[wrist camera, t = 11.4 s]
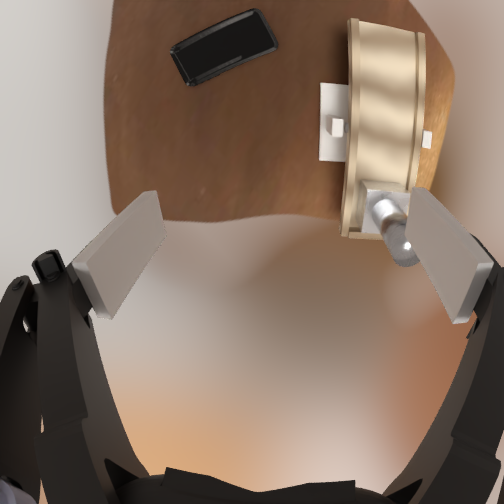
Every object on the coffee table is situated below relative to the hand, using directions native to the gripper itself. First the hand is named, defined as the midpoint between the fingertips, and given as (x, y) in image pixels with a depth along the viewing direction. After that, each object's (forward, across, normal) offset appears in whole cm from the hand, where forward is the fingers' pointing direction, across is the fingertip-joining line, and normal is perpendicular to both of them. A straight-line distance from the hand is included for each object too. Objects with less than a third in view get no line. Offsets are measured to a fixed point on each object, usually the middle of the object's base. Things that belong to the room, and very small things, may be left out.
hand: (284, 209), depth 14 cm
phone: (+32, -8, +13) cm, 35 cm away
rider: (+24, +13, -10) cm, 29 cm away
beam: (+28, +13, 0) cm, 30 cm away
